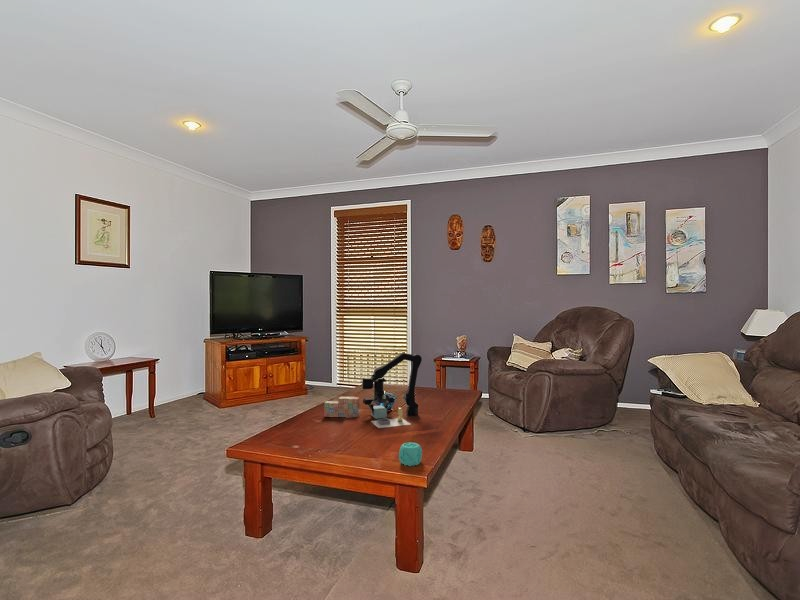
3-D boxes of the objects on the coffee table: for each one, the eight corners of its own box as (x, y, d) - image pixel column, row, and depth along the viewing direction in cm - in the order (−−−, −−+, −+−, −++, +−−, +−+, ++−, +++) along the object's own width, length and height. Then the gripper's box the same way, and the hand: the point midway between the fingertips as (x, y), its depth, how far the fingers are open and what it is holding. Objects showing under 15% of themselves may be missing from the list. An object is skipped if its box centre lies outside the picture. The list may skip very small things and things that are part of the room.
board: (401, 420, 266) (401, 414, 266) (411, 426, 252) (411, 420, 252) (370, 423, 259) (370, 417, 259) (378, 430, 245) (378, 424, 245)
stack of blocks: (323, 417, 272) (323, 398, 272) (326, 415, 278) (326, 396, 278) (357, 418, 270) (357, 398, 270) (359, 416, 277) (359, 396, 277)
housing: (381, 414, 275) (381, 405, 275) (386, 417, 267) (386, 408, 267) (371, 415, 272) (371, 406, 272) (375, 418, 264) (375, 409, 264)
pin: (401, 420, 259) (401, 407, 260) (403, 422, 257) (403, 408, 257) (396, 421, 258) (396, 407, 258) (398, 422, 256) (398, 408, 256)
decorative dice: (415, 467, 191) (415, 449, 191) (398, 464, 194) (398, 446, 194) (422, 461, 198) (422, 443, 198) (406, 458, 201) (406, 441, 201)
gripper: (368, 392, 259) (368, 419, 259) (397, 390, 265) (397, 415, 265) (362, 389, 269) (362, 414, 269) (391, 386, 276) (391, 411, 276)
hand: (378, 414), depth 270 cm, fingers closed on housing, 7 cm apart
